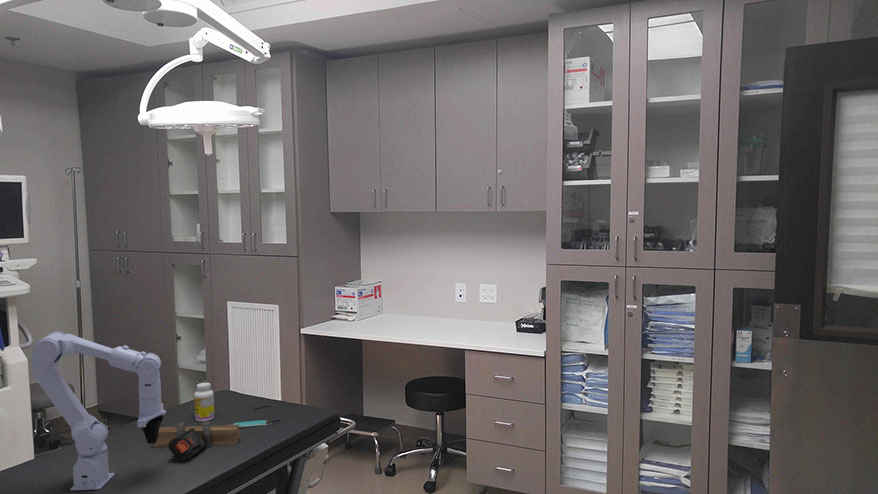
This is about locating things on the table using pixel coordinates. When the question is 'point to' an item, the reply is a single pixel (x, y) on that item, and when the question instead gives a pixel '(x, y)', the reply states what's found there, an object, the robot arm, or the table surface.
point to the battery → (186, 445)
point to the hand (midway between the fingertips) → (152, 442)
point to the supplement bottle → (204, 402)
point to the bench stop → (201, 434)
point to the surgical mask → (254, 422)
